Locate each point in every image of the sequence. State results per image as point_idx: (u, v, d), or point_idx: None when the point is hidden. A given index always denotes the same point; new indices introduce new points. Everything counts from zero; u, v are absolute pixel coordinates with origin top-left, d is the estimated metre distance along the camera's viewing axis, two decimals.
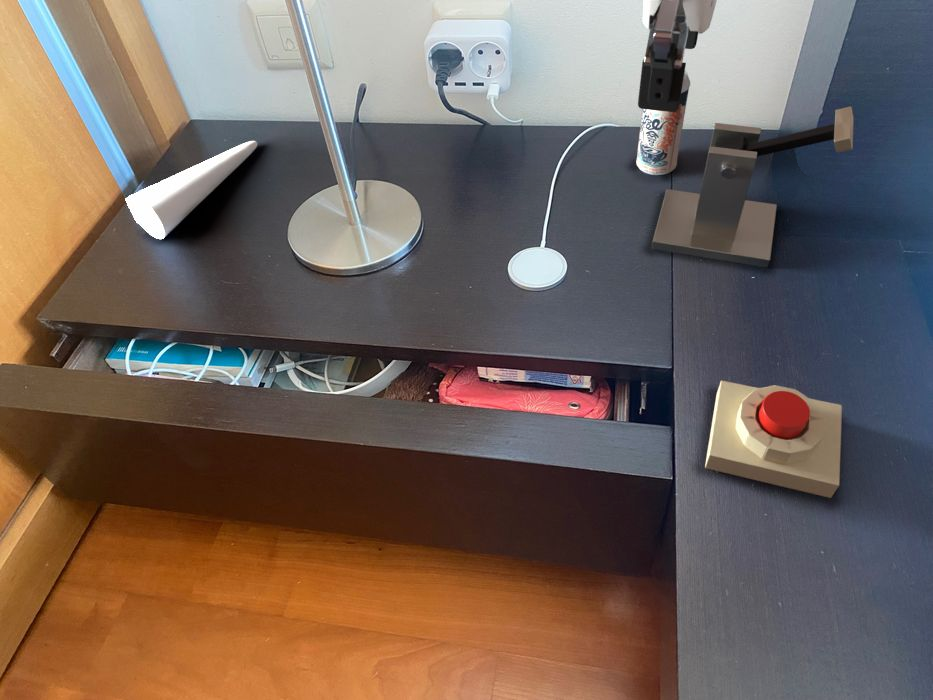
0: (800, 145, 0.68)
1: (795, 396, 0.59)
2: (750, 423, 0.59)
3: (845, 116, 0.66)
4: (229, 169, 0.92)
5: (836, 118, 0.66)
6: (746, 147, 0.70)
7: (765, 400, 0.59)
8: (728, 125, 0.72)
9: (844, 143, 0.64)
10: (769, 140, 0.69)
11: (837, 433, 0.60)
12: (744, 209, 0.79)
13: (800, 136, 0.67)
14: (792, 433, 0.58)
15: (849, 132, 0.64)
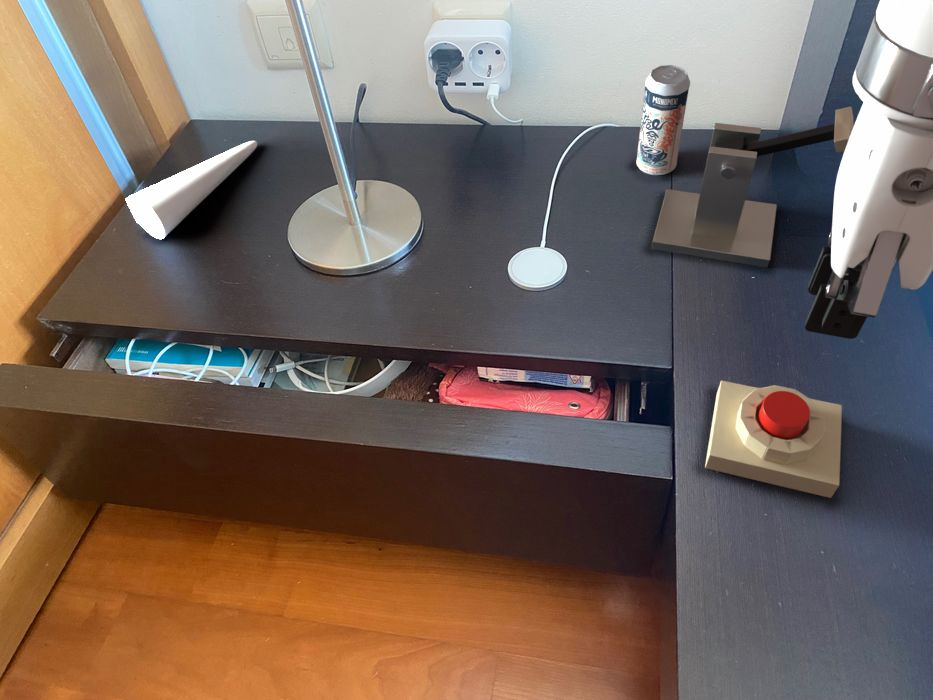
0: (800, 145, 0.68)
1: (795, 396, 0.59)
2: (750, 423, 0.59)
3: (845, 116, 0.66)
4: (229, 169, 0.92)
5: (836, 118, 0.66)
6: (746, 147, 0.70)
7: (765, 400, 0.59)
8: (728, 125, 0.72)
9: (844, 143, 0.64)
10: (769, 140, 0.69)
11: (837, 433, 0.60)
12: (744, 209, 0.79)
13: (800, 136, 0.67)
14: (792, 433, 0.58)
15: (849, 132, 0.64)
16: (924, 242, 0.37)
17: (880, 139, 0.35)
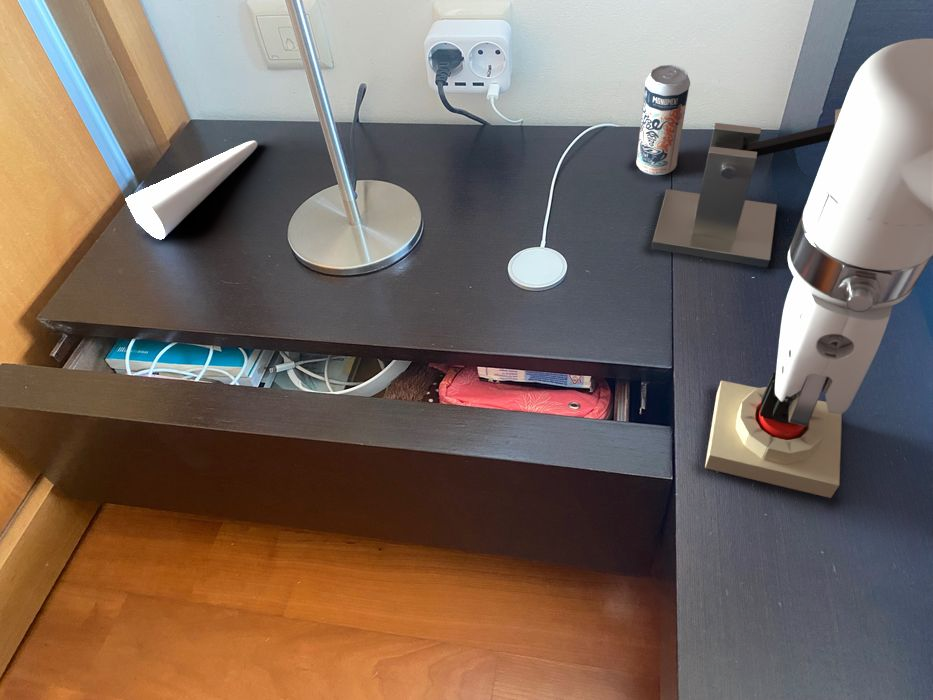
0: (800, 145, 0.68)
1: None
2: (750, 423, 0.59)
3: None
4: (229, 169, 0.92)
5: (836, 118, 0.66)
6: (746, 147, 0.70)
7: None
8: (728, 125, 0.72)
9: None
10: (769, 140, 0.69)
11: (837, 433, 0.60)
12: (744, 209, 0.79)
13: (800, 136, 0.67)
14: (789, 438, 0.58)
15: None
16: (843, 384, 0.47)
17: (806, 308, 0.45)
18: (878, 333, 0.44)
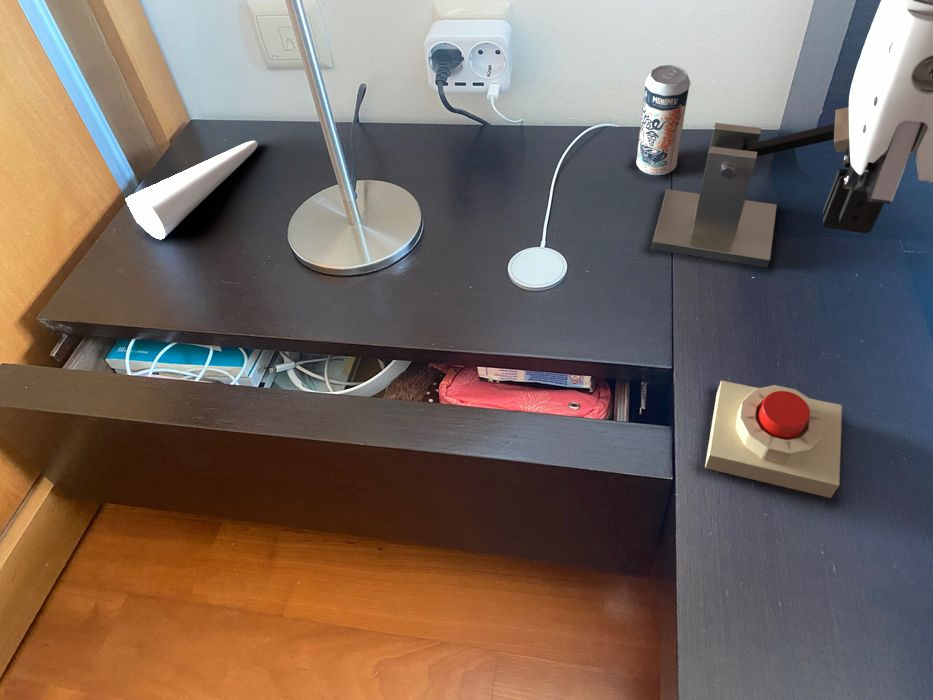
0: (800, 145, 0.68)
1: (795, 396, 0.59)
2: (750, 423, 0.59)
3: (845, 116, 0.66)
4: (229, 169, 0.92)
5: (836, 118, 0.66)
6: (746, 147, 0.70)
7: (765, 400, 0.59)
8: (728, 125, 0.72)
9: (844, 143, 0.64)
10: (769, 140, 0.69)
11: (837, 433, 0.60)
12: (744, 209, 0.79)
13: (800, 136, 0.67)
14: (792, 433, 0.58)
15: None
16: None
17: (900, 31, 0.38)
18: None
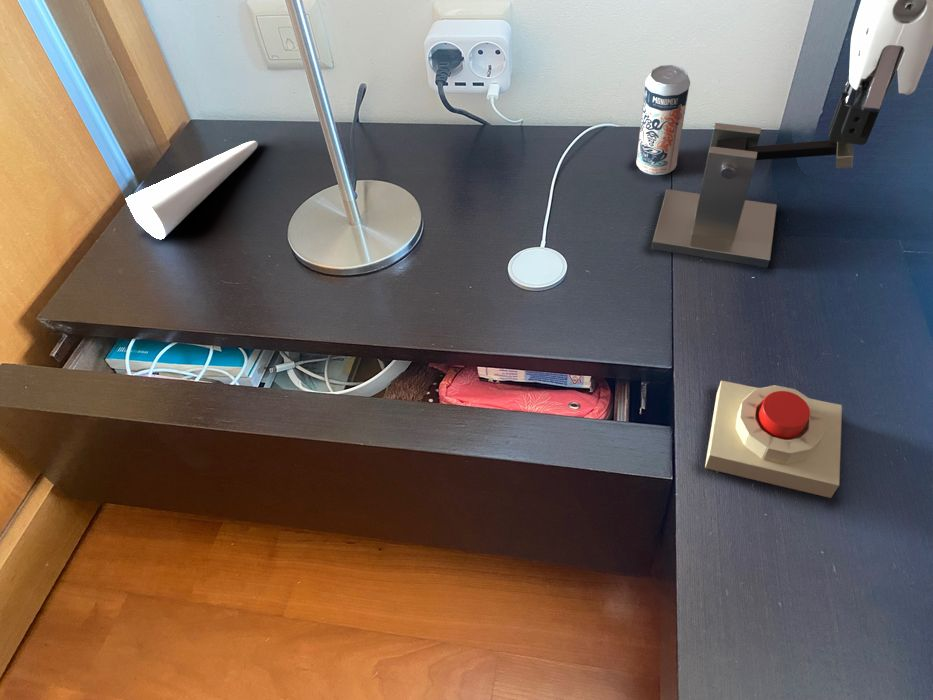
0: (801, 155, 0.69)
1: (795, 396, 0.59)
2: (750, 423, 0.59)
3: None
4: (229, 169, 0.92)
5: None
6: (747, 149, 0.71)
7: (765, 400, 0.59)
8: (728, 125, 0.72)
9: (846, 160, 0.65)
10: (771, 146, 0.70)
11: (837, 433, 0.60)
12: (744, 209, 0.79)
13: (803, 147, 0.68)
14: (792, 433, 0.58)
15: (852, 150, 0.65)
16: (914, 52, 0.54)
17: None
18: None
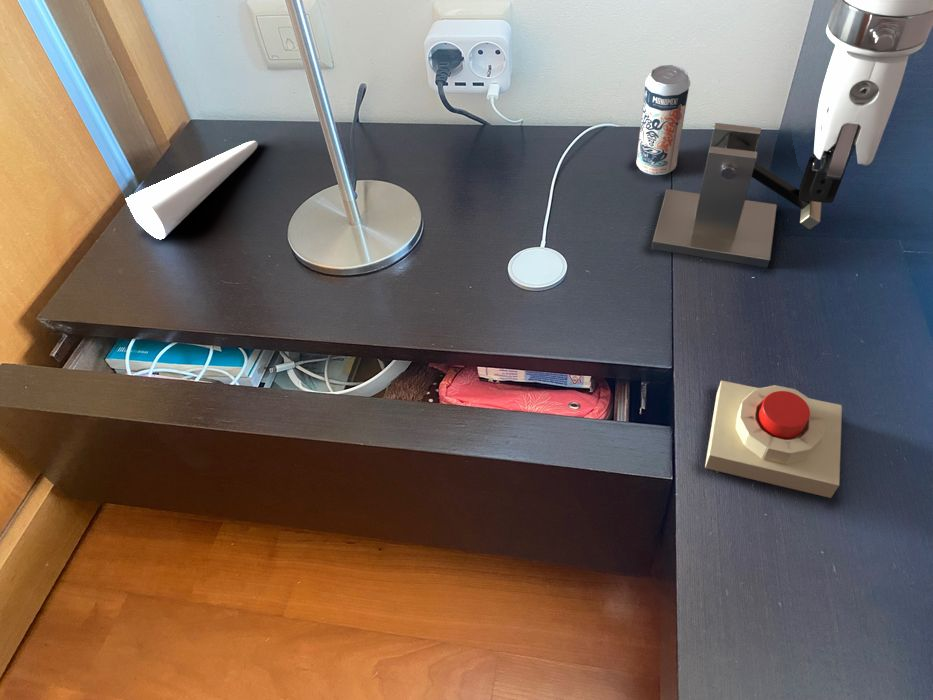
0: (779, 193, 0.72)
1: (795, 396, 0.59)
2: (750, 423, 0.59)
3: None
4: (229, 169, 0.92)
5: None
6: None
7: (765, 400, 0.59)
8: (728, 125, 0.72)
9: (812, 222, 0.72)
10: (764, 169, 0.72)
11: (837, 433, 0.60)
12: (744, 209, 0.79)
13: (786, 187, 0.72)
14: (792, 433, 0.58)
15: (819, 216, 0.72)
16: (870, 130, 0.60)
17: (842, 64, 0.58)
18: (898, 76, 0.57)
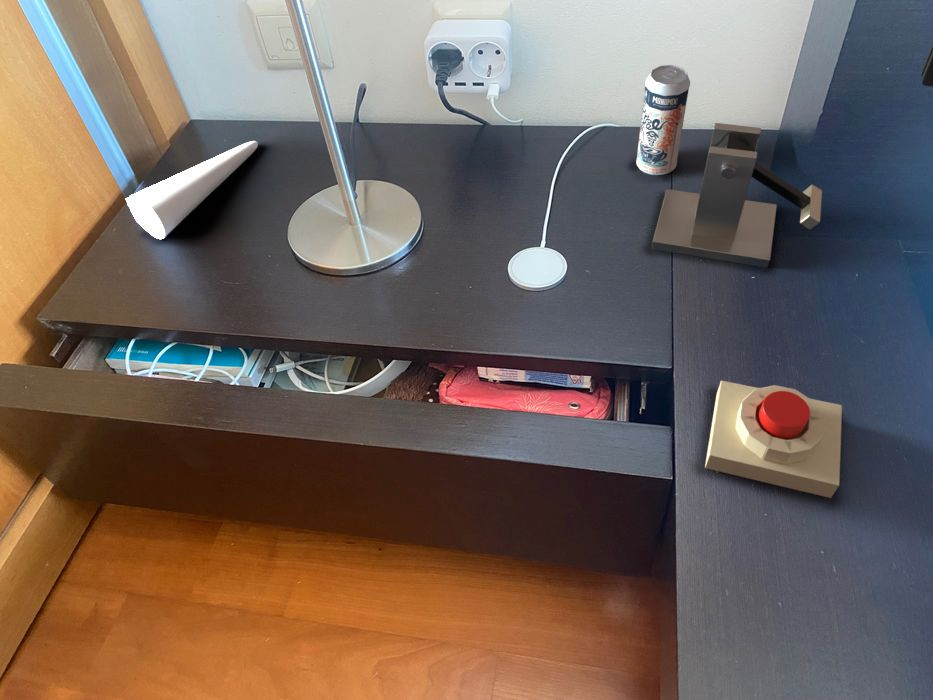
0: (779, 193, 0.72)
1: (795, 396, 0.59)
2: (750, 423, 0.59)
3: (818, 197, 0.73)
4: (230, 169, 0.92)
5: (812, 193, 0.73)
6: None
7: (765, 400, 0.59)
8: (728, 125, 0.72)
9: (812, 222, 0.72)
10: (764, 169, 0.72)
11: (837, 433, 0.60)
12: (744, 209, 0.79)
13: (786, 187, 0.72)
14: (792, 433, 0.58)
15: (819, 216, 0.72)
16: None
17: None
18: None
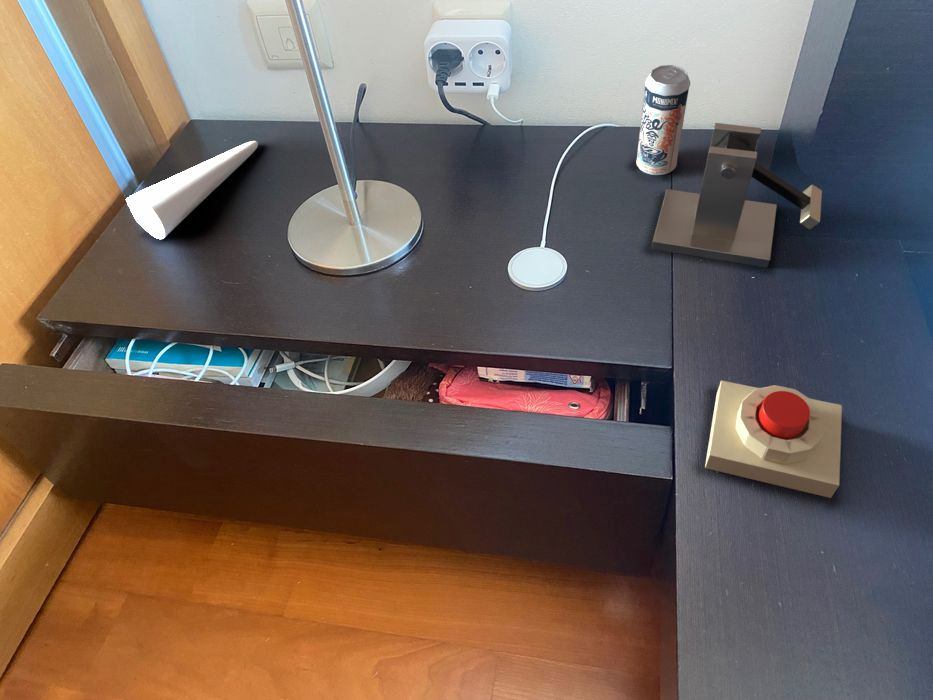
0: (779, 193, 0.72)
1: (795, 396, 0.59)
2: (750, 423, 0.59)
3: (818, 197, 0.73)
4: (230, 169, 0.92)
5: (812, 193, 0.73)
6: None
7: (765, 400, 0.59)
8: (728, 125, 0.72)
9: (812, 222, 0.72)
10: (764, 169, 0.72)
11: (837, 433, 0.60)
12: (744, 209, 0.79)
13: (786, 187, 0.72)
14: (792, 433, 0.58)
15: (819, 216, 0.72)
16: None
17: None
18: None
